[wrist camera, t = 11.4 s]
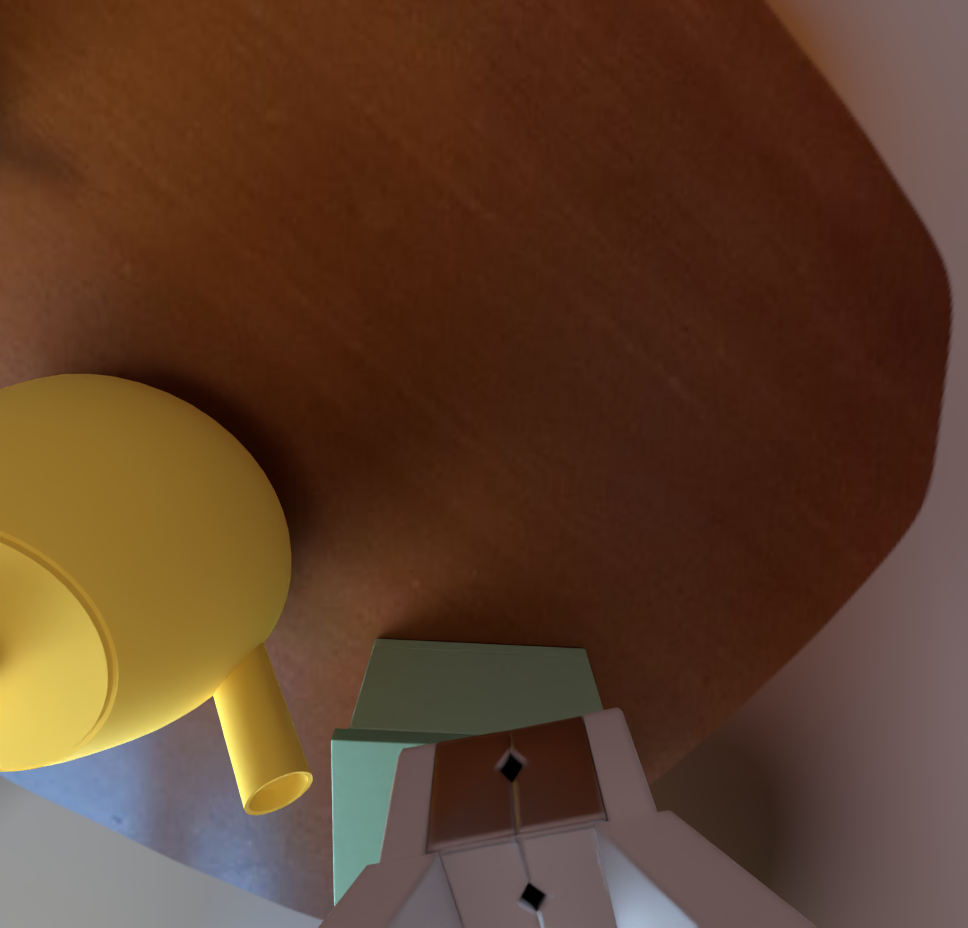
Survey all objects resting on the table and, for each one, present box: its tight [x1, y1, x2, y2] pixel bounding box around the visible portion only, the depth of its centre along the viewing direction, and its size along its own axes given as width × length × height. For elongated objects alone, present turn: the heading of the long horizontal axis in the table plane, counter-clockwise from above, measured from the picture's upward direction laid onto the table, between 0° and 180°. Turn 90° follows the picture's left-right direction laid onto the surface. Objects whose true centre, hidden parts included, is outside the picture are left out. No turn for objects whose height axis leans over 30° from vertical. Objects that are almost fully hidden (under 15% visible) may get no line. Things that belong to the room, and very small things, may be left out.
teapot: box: [0, 374, 313, 815], centre depth 23 cm, size 20×16×14 cm
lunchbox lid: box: [331, 728, 476, 905], centre depth 26 cm, size 12×10×1 cm
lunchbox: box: [349, 639, 603, 735], centre depth 30 cm, size 12×10×7 cm
